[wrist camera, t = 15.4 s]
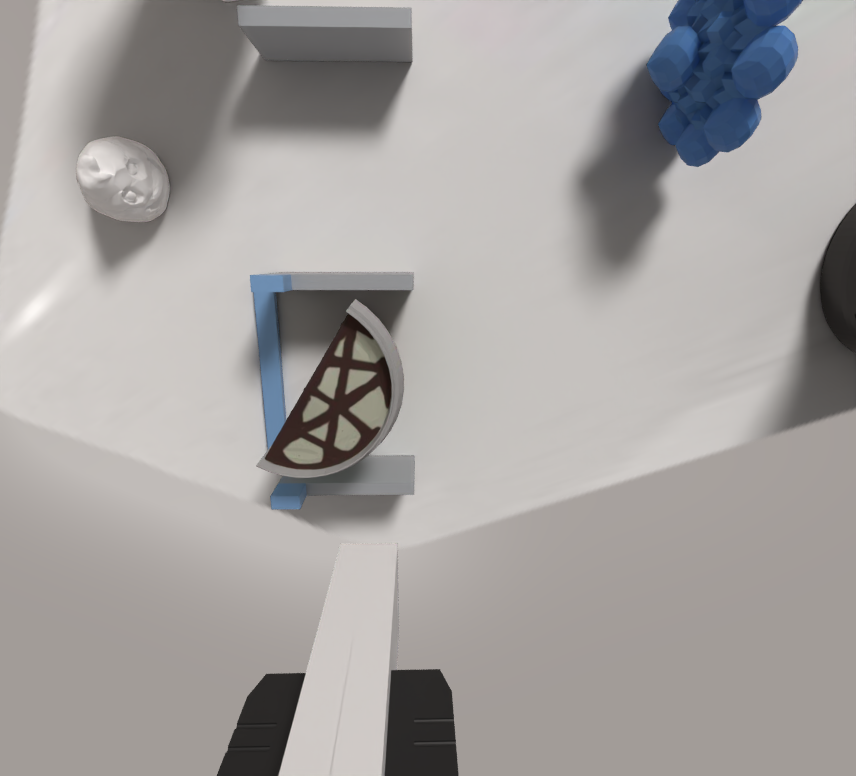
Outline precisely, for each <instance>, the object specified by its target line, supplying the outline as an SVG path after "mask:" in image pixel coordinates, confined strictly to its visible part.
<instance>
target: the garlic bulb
mask: <svg viewBox="0 0 856 776" xmlns="http://www.w3.org/2000/svg"><path fill="white" fill-rule="evenodd" d="M76 176H77V181H78V183H79V186H80V188H81V192H82V194H83V196H84V199H85V200H86V202H87V203H88V204H89V205H90V206H91V207H92V208H93V209H94V210H95V211H97V212H99V213H101V214H104V215H106V216H109V217H111V218H113V219H116V220H119V221H127V222H148V221H152V220H154V219H155V218H157V217H158V216H160V215H161V214H162V213H163V212H164V211H165V209H166V207H167V202H168V199H169V193H170V183H169V178H168V174H167V171H166V169H165V167H164V165H163V164H162V163H161V162H160V160H159V158H158V157H157V155H156V154H155V153H154V152H153V151H152V150H151V149H150V148H148V147H147V146H145V145H143V144H141V143H139V142H137V141H134V140H130V139H126V138H123V137H118V136H113V137H106V138H101V139H97V140H94V141H91V142H89V143H88V144H87V145H86V146H85V148H84V149H83V150H82V152H81V153H80V155H79V156H78V160H77V167H76Z"/></svg>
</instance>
